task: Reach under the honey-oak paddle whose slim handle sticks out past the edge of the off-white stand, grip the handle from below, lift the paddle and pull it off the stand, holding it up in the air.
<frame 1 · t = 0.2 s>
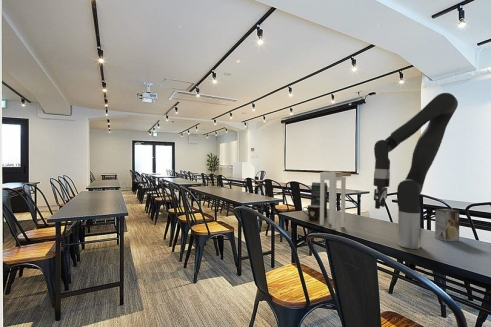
hand: (380, 207, 136), 17 cm above the table, tool pointing down, fingers open, 8 cm apart
white stand: (332, 226, 163), on the table
coffee mug: (311, 220, 180), on the table
coffee box: (446, 239, 138), on the table
oak paddle: (332, 176, 163), point 32 cm above the table, touching white stand
headset box: (318, 214, 199), on the table
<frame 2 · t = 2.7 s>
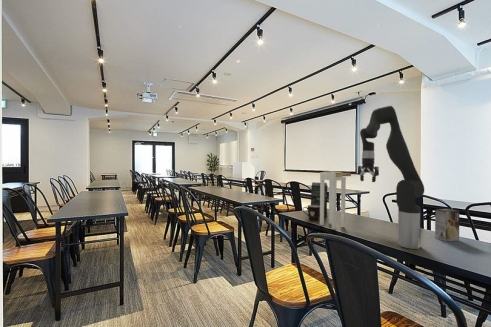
hand: (367, 181, 171), 28 cm above the table, tool pointing down, fingers open, 8 cm apart
nothing on the table moved.
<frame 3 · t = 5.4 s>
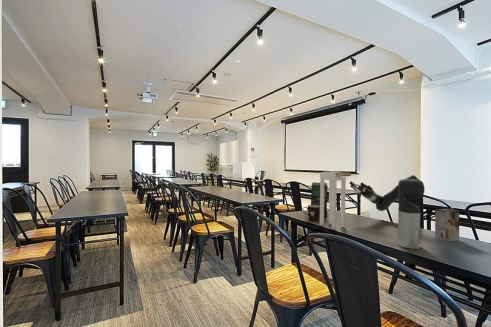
hand: (355, 183, 173), 27 cm above the table, tool pointing upward, fingers open, 8 cm apart
nothing on the table moved.
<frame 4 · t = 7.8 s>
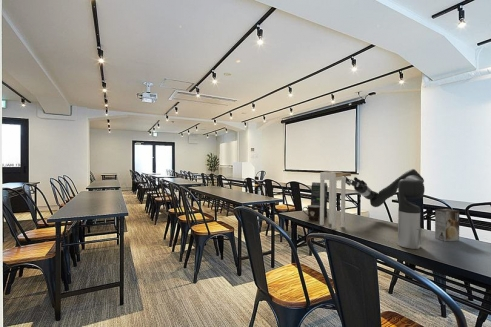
hand: (349, 177, 171), 31 cm above the table, tool pointing upward, fingers open, 8 cm apart
nothing on the table moved.
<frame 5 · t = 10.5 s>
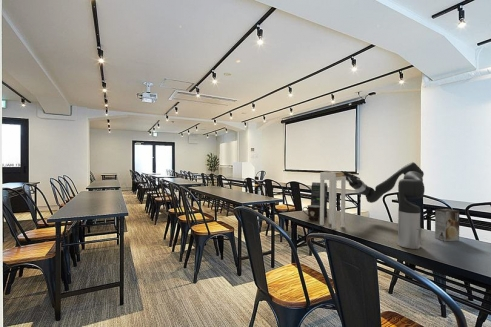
hand: (342, 172, 167), 35 cm above the table, tool pointing upward, fingers closed on oak paddle, 2 cm apart
oak paddle: (332, 176, 163), point 32 cm above the table, touching gripper, white stand
everything else where it was.
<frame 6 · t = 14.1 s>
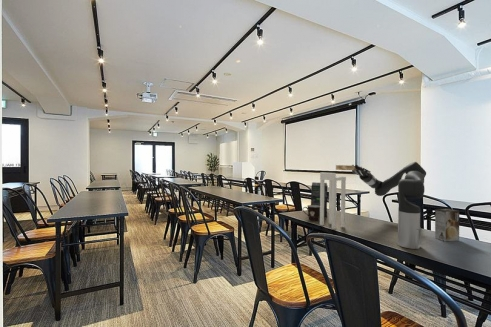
hand: (353, 165, 173), 39 cm above the table, tool pointing upward, fingers closed on oak paddle, 2 cm apart
oak paddle: (344, 169, 169), point 36 cm above the table, touching gripper
everything else where it was.
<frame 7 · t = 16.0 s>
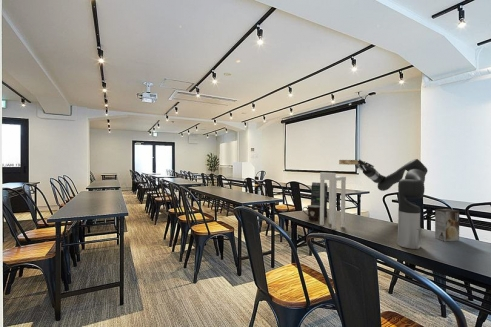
hand: (357, 160, 173), 42 cm above the table, tool pointing upward, fingers closed on oak paddle, 2 cm apart
oak paddle: (348, 164, 169), point 40 cm above the table, touching gripper
everything else where it was.
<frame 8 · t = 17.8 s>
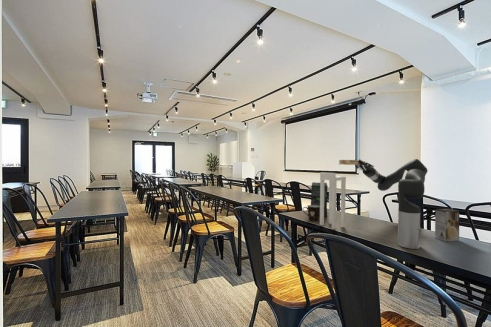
hand: (357, 160, 173), 42 cm above the table, tool pointing upward, fingers closed on oak paddle, 2 cm apart
oak paddle: (348, 164, 169), point 40 cm above the table, touching gripper
everything else where it was.
at the end: the gripper is holding oak paddle; oak paddle touching gripper; oak paddle inside the target area (1.4 cm from its centre), point 39.7 cm above the table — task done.
